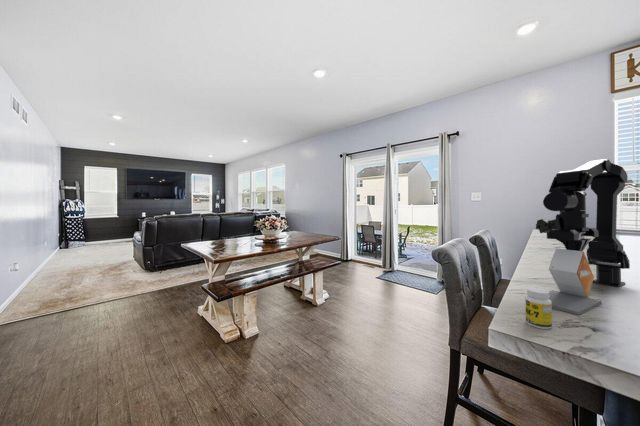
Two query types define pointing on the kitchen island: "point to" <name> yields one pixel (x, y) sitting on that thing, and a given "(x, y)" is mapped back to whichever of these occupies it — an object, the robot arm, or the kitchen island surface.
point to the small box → (571, 272)
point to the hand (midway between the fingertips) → (573, 261)
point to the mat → (572, 302)
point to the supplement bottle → (538, 308)
